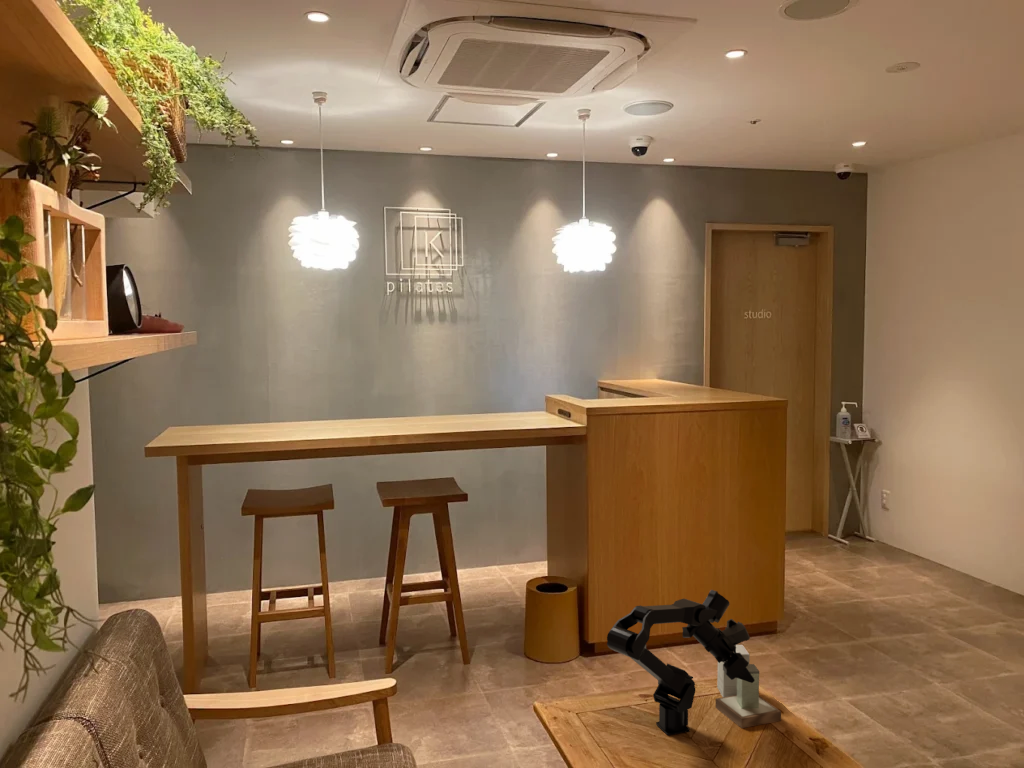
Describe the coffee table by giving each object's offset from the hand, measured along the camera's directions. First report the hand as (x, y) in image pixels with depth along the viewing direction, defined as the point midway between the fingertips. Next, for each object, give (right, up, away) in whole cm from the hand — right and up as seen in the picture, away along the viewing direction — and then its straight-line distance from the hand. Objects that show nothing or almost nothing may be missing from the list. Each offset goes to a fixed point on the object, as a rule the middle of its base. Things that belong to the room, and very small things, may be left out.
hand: (749, 676), depth 218 cm
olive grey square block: (0, -8, +1) cm, 8 cm away
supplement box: (-1, -10, +13) cm, 16 cm away
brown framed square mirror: (0, -10, +1) cm, 10 cm away
